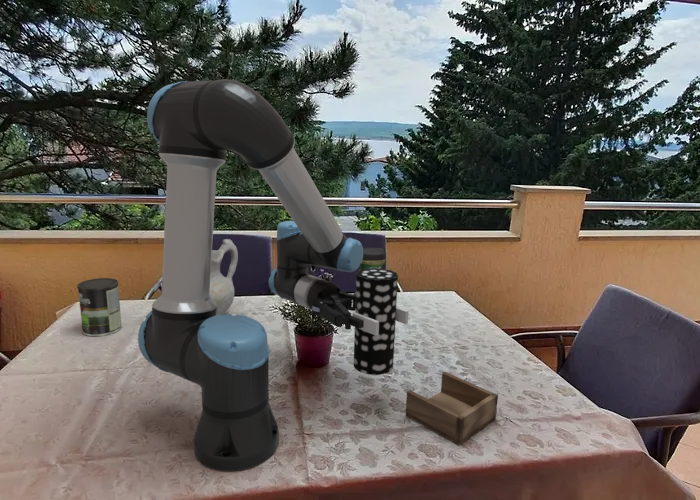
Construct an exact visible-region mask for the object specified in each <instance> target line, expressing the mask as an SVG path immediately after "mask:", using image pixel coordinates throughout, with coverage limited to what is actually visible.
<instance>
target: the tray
mask: <svg viewBox="0 0 700 500" xmlns="http://www.w3.org/2000/svg"><path fill="white" fill-rule="evenodd" d="M440 386H441V388H440V391H439V392H438V393H436V394H434V395H432V396H431V397H428V398H427V397H426V396H424V395H421V394H419V393H417V392H415V391H413V390H411V389H410V390H407V391H406V401H405V417H407V418H409V419H411V420H412V421H414V422H416V423H418V424H419V425H422V426H423V427H425V428H427V429H428V430H430V431H432V432H434V433H435V434H437V435H439V436H440V437H442V438H444V439H446V440H448V441H450V442H452V443H453V444H455V445H456V446H460V445H462V444H464V443H466V441H468V440H469V439H471V438H472V437H473V436H475V435H476V434H478V433H479V432H480V431H482V430H483V429H484V428H486V427H487V426H488V425H490V424H491V423H493V422H494V421H495V420H496V418H497V410H498V399H499V394H496V393H494V392H493V391H490V390H487V389H485V388H483V387H481V386H478V385H476V384H473V383H472V382H470V381H467V380H464V379H463V378H461V377H458V376H456V375H453V374H451V373H449V372H446V371H444V372H442V373H441V385H440Z"/></svg>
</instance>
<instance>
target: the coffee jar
mask: <svg viewBox="0 0 700 500" xmlns="http://www.w3.org/2000/svg"><path fill="white" fill-rule="evenodd" d="M385 264H386V251H385V250H384V248H383V247H363V259H362V262H361V264H360V266H359V271H360V270H363V269H385V267H384V266H385Z"/></svg>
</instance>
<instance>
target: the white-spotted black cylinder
mask: <svg viewBox="0 0 700 500" xmlns="http://www.w3.org/2000/svg"><path fill="white" fill-rule="evenodd" d="M355 273H356V274H355V275H356V276H355V278H356V279H355V290H356V303H355V311H354V313H355V312H356V313H358V314H361V315H364V316H366V317H369V318H371V319H374V320H377V321H379V335H376V336H375V335H373V334H371V333H368V332H366V331H363V330H361V329H359V328H356V327H354V334H353V335H354V337H353V340H354V342H353V343H354V344H353V368H354V369H355V370H356V371H358V372H359V373H361V374H365V375H371V376H379V375H385V374H386V375H387V374H389V373H390V372H391V371H392V370H393V369H394V357H395V356H394V355H395V341H396V340H395V339H396V337H395V336H396V322H397V321H396V307H397V301H398V300H397V299H398V297H397V296H398V284H399V283H398V281H399V278H398V277H399V274H398V273H397V272H396V271H393V270H391V269H386V268H383V269H363V270H360V269H359V270H358V271H357V272H355Z"/></svg>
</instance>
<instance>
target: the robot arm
mask: <svg viewBox="0 0 700 500" xmlns="http://www.w3.org/2000/svg"><path fill="white" fill-rule="evenodd" d="M146 113H147V114H146V120H147V121H146V122H147V126H148V129H149V132H150V133H151V134H152V135H153V136H152V137H153V138H154V140H155V141H156V142H158V144H159V145H158V156H159V157H160V158H161V160H163V161H162V162H164V163H165V164H166V166H167V167H166V168H167V169H166V187H165V189H166V191H165V192H166V193H165V211H164V230H163V231H164V232H163V233H164V235H163V236H164V237H163V254H162V272H161V273H162V274H161V275H162V276H161V295H160V296H159V297H158V298H156V299H155V300H154V301H153V302H152V305H151V311H149V312H148V314H146V316H145V320H143V321H142V322H141V324H140V325H139V326H140V327H139V329H138V334H137V343H138V348H139V351H140V353H141V355H142V356H143V358H144V359H145V360H146V361H147V362H148V363H150V364H151V365H153V366H154V367H156V368H158V369H159V370H160V371H163V372H165V373H170V374H173V375H175V376H177V377H180V378H181V379H183V380H186V381H189V382H192V383H193V384H196V385H199V386H200V388H201V390H200V391H201V405H202V407H201V408H202V411H201V414H200V416H199V420H198V423H197V426H196V430H195V432H194V436H193V448H194V449H193V450H194V455H195V459H196V460H197V461H198V462H199V463H201V464H202V465H203V466H204V467H207V468H209V469H211V470H215V471H222V472H225V471H226V472H234V471H242V470H246V469H251V468H252V467H256V466H258V465H260V464H262V463H264V462H265V461H267V460H268V459H269V458H270V457H271V456H272V455H274V453H275V452H276V450H277V449H278V446H279V444H280V443H279V442H280V432H279V431H280V430H279V424H278V422H277V420H276V417H275V414H274V413H273V412H274V411H273V409H272V407H271V405H270V401H269V399H270V396H269V392H270V391H269V389H270V387H269V386H270V384H269V383H270V381H269V379H270V377H269V374H270V371H269V369H270V368H269V366H270V364H269V363H270V362H269V358H270V354H269V353H270V347H269V344H268V335H267V333H268V332H267V331H266V328H265V327H264V326H263V324H261V322H260V321H258V320H257V319H254V318H252V317H249V316H247V315H242V314H235V315H233V314H231V313H230V314H229V313H227V314H226V313H224V314H223V315H217V316H216V312H217V304H216V302H215V301H214V300H213V299H212V298H211V297H210V295H209V293H210V275H211V258H212V250H213V237H214V225H215V224H214V223H215V222H214V221H215V202H216V190H217V189H216V188H217V187H216V186H217V171H218V170H219V169H220V168H221V167H222V166H223V165H224V164H226V163H227V162H226V160H227V151H231V152H232V153H235V154H237V155H238V156H240V157H241V159H243V160H244V162H245V163H246V165H247V167H248V168H250V169H252V170H256V171H258V172H259V173H260V175H261V176H262V177H263V179H264V181H265V182H266V183H267V185H268V186H269V187H270V189H271V190H272V192H273V194H275V196H276V198H277V199H278V200H279V202H280V203H281V205H282V206H283V208H284V209H285V211H286V212H287V213H288V215H289V216H290V218H291V219H292V220H287V221H282V222H279V223H278V225H277V227H276V240H275V241H276V267H275V268H274V269H273V270H272V271H271V273H270V276H269V278H268V287H269V289H270V291H271V292H272V293H273V294H274V295H276V296H277V297H279V298H281V299H284V300H286V301H290V302H292V303H295V304H297V305H300V306H302V307H305V308H306V309H308V310H309V311H310V310H311V311H312V314H313V315H315V316H319V317H321V318H322V319H324V320H325V321H327V322H329V323H331V324H332V325H333V326H335V327H337V328H342V327H343V325H344V329H345V330H351V329H352V328H351V327H354V328H355V327H356V328H359V329H361V330H363V331H366V332H368V333H371V334H373V335H375V336H376V335H379V321H377V320H374V319H371V318H369V317H366V316H364V315H361V314H358V313H356V312H355V303H356V289H355V290H353V293H348V292H347V291H341V289H340V287H339V286H338V285H337V284H336V283H334V282H332V281H329V280H326V279H323V278H321V277H318V276H315V275H312V274H309V272H308V271H309V265H310V266H314V267H318V268H319V267H320V268H324V269H327V270H329V269H330V270H334V271H338V272H347V273H353V272H355V271H357V270H358V269H359V268H360V264H361V262H362V259H363V248H364V247H363V245H362V243H361V242H360V241H359V240H358V239H355V238H352V237H347V236H346V235H345V233H344V232H343V230H342V229H341V226H340V225H339V224H338V221H337V220H336V218H335V216H334V215H333V213H332V211H331V210H330V208H329V207H328V204H327V203H326V201H325V199H324V197H323V196H322V194H321V192H320V191H319V189H318V188H317V186H316V184H315V182H314V181H313V179H312V177H311V175H310V173H309V172H308V171H307V170H308V169H307V168H306V166H305V165H304V164H303V162H302V160H301V159H300V156H299V155H298V153H297V151H296V150H295V148H294V147H295V144H296V140H295V137H294V135H293V134H292V131H291V130H290V128H289V127H288V125H287V123H286V122H285V121H284V119H283V118H282V116H281V115H280V114H279V112H278V111H277V110H276V109H275V108H274V107H273V106H272V105H271V104H270V103H269V101H268V100H267V99H265V98H264V97H263V96H262V95H261V94H260V93H258V92H257V91H256V90H254V89H253V88H252V87H250V86H249V85H246V84H244V83H242V82H240V81H238V80H233V79H226V78H225V79H223V78H222V79H216V80H197V81H196V80H195V81H194V80H193V81H187V80H185V81H179V82H176V83H171V84H167V85H165V86H163V87H162V88H160V89H159V90H158V91H156V92H155V93H154V95H153V96H152V98H151V99H150V101H149V103H148V108H147V111H146ZM351 311H352V313H351ZM396 322H398V323H401V324H403V325H406V324H409V310H407V309H404V308H401V307H398V306H396Z"/></svg>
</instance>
